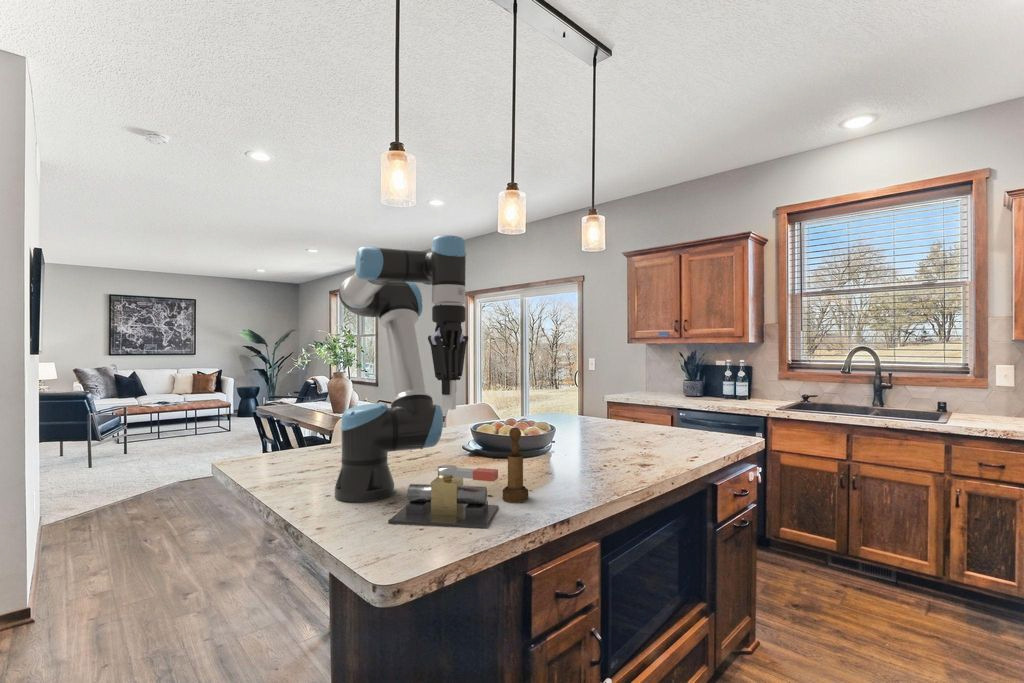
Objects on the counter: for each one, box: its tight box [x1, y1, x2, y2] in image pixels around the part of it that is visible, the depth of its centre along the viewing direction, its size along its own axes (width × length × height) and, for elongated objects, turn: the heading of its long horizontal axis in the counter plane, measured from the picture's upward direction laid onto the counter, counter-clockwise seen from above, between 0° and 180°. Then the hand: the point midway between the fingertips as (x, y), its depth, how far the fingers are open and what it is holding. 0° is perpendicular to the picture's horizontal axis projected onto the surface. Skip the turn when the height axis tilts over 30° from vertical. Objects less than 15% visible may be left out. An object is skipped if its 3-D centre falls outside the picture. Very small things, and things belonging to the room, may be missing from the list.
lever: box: [437, 464, 499, 482], centre depth 117 cm, size 14×4×2 cm, turn 72°
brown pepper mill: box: [502, 427, 529, 504], centre depth 129 cm, size 7×6×18 cm
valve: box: [387, 476, 499, 529], centre depth 117 cm, size 22×14×8 cm, turn 81°
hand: (449, 408), depth 116 cm, fingers closed
